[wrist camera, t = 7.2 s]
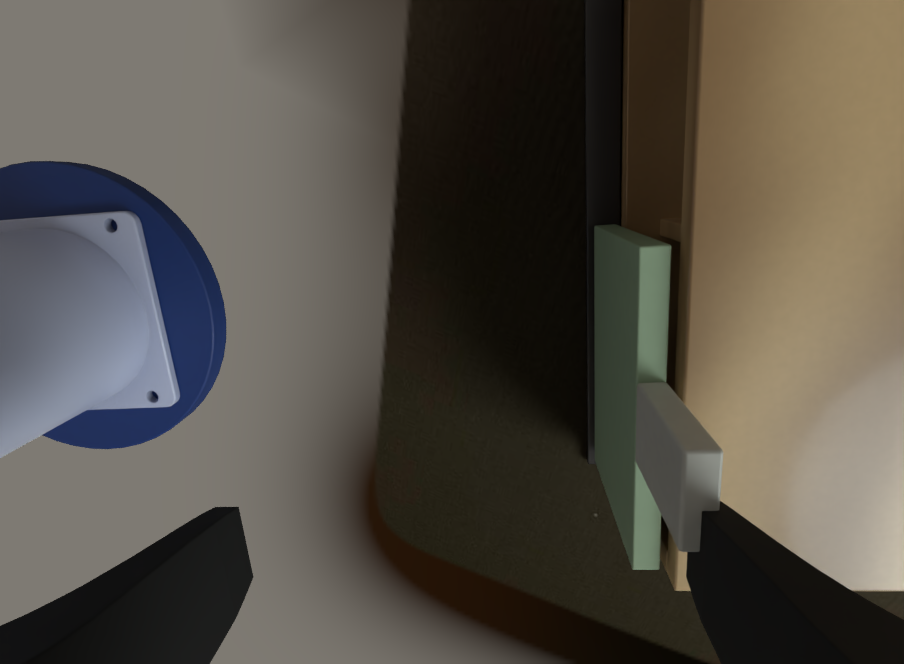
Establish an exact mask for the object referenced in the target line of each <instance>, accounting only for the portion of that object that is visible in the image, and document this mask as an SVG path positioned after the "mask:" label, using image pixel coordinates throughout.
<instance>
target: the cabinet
mask: <svg viewBox="0 0 904 664" xmlns="http://www.w3.org/2000/svg"><path fill="white" fill-rule="evenodd" d="M621 27H622V0H584V38H585V199H586V360H587V462H588V464H596V462H595V320H594V227H595V226H597V225H612V224H616V225H619V216H620V122H621ZM621 227H624V228H627V229H629V230H632V231H635V232H637V233H640V234H643V235H645V236H648V237H651V238H653V239H656V240H659V241H661V242H664V243H667V244H670V245H671V269H670V296H669V323H668V350H667V377H666V383H667V384H668V385H669V386H670V387H671V388H672V390H673V391H674V392H675V393H676V394H677V396H678V397H679V398H680V399H681V400H682V402H683V403H684V404H685V405H686V407H687V408H688V409H689V410H690V411H691V413H692V414H693V415H694V416H695V417H696V419H697V420H698V421H699V422H700V423H701V425H702V426H703V427H704V428H705V429H706V431H707V432H708V433H709V434H710V435H711V437H712V438H713V439H714V440H715V441H716V443H717V444H718V445H719V446H720V447H721V449H722V450H723V465H722V479H721V494H720V501H721V502H723V503H724V504H726V505H727V506H729V507H730V508H732V509H733V510H734V511H736V512H737V513H739V514H740V515H741V516H743V517H744V518H745V519H747V520H748V521H750V522H751V523H752V524H754V525H755V526H756V527H758V528H759V529H761V530H762V531H763V532H765V533H766V534H767V535H769V536H770V537H772V538H773V539H774V540H776V541H777V542H779V543H780V544H782V545H783V546H784V547H786V548H787V549H789V550H790V551H791V552H793V553H794V554H796V555H797V556H799V557H800V558H802V559H803V560H805V561H806V562H808V563H809V564H811V565H812V566H814V567H815V568H817V569H818V570H820V571H821V572H823V573H824V574H826V575H828V576H829V577H831V578H832V579H834V580H836V581H837V582H839V583H840V584H842V585H843V586H845V587H847V588H848V589H850V590H851V591H904V0H623V88H622V176H621ZM660 558H661V560H662V563H663V565H664V567H665V570H666V571H667V574H668V576H669V578H670V581H671V583H672V585H673V588H674V589H675V590H676V591H691V590H690V587H689V584H688V581H687V578H686V570H687V552H682V551H679V550H678V548H677V545H676V543H675V541H674V539H673V537H672V535H671V533H670V531H669V529H668V527H667V525H666V523H665V521H664V519H663V517H662V515H661V541H660Z"/></svg>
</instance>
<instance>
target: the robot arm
mask: <svg viewBox="0 0 904 664" xmlns="http://www.w3.org/2000/svg"><path fill="white" fill-rule="evenodd" d="M112 220H114V221H115V222H116V224H117V230H116V231H115V230H114V229H113V227H112V225H111V222H112ZM152 391H154V392H155V393H157V395H158V399H157V398H155V397H154V396H153V394H152ZM179 398H180V391H179V387H178V383H177V378H176V374H175V369H174V365H173V361H172V356H171V352H170V347H169V343H168V339H167V334H166V330H165V325H164V321H163V317H162V312H161V308H160V303H159V299H158V295H157V290H156V286H155V281H154V277H153V273H152V268H151V264H150V259H149V255H148V251H147V246H146V242H145V237H144V233H143V229H142V224H141V221H140V219H139V217H138V216H137V215H136V214H135V213H133V212H131V211H116V212H103V213H90V214H77V215H64V216H51V217H38V218H25V219H11V220H0V458H1V457H3V456H5V455H7V454H9V453H10V452H12V451H14V450H16V449H17V448H19V447H21V446H23V445H25V444H27V443H28V442H30V441H32V440H34V439H36V438H37V437H39V436H41V435H43V434H45V433H46V432H48V431H50V430H52V429H54V428H55V427H57V426H59V425H61V424H63V423H64V422H66V421H68V420H70V419H72V418H73V417H75V416H77V415H79V414H81V413H82V412H84V411H86V410H100V409H128V408H157V407H170V406H172V405H173V404H175V403H176V402H177V401H178V400H179ZM252 578H253V573H252V569H251V564H250V560H249V555H248V550H247V545H246V541H245V536H244V531H243V526H242V521H241V517H240V512H239V507H215V508H213V509H211V510H209V511H207V512H205V513H203V514H201V515H199V516H198V517H196V518H194V519H193V520H191V521H189V522H188V523H186V524H185V525H183V526H181V527H179V528H178V529H176V530H175V531H173V532H171V533H170V534H168V535H167V536H165V537H163V538H162V539H160V540H158V541H157V542H155V543H154V544H152V545H150V546H149V547H147V548H146V549H144V550H142V551H141V552H139V553H137V554H136V555H135V556H133V557H131V558H129V559H128V560H126V561H124V562H122V563H121V564H119V565H117V566H116V567H114V568H112V569H111V570H109V571H107V572H105V573H103V574H102V575H100V576H98V577H97V578H95V579H93V580H92V581H90V582H88V583H86V584H84V585H83V586H81V587H79V588H77V589H75V590H74V591H72V592H70V593H68V594H66V595H64V596H62V597H60V598H58V599H56V600H54V601H53V602H50V603H48V604H46V605H44V606H42V607H40V608H38V609H36V610H34V611H32V612H30V613H28V614H26V615H24V616H22V617H19V618H17V619H15V620H13V621H10V622H8V623H6V624H4V625H1V626H0V664H210V662H211V660H212V659H213V657H214V655H215V654H216V652H217V650H218V648H219V647H220V645H221V643H222V642H223V640H224V638H225V636H226V635H227V633H228V631H229V629H230V628H231V626H232V624H233V622H234V621H235V619H236V617H237V614H238V612H239V610H240V608H241V605H242V603H243V601H244V599H245V596H246V593H247V591H248V589H249V586H250V584H251V581H252ZM686 578H687V581H688V584H689V587H690V590H691V593H692V596H693V599H694V602H695V605H696V608H697V611H698V613H699V616H700V619H701V622H702V624H703V626H704V628H705V630H706V632H707V635H708V637H709V639H710V641H711V643H712V645H713V647H714V649H715V651H716V653H717V655H718V657H719V660H720V662H721V664H904V620H903V619H901V618H899V617H897V616H895V615H894V614H892V613H890V612H888V611H886V610H885V609H883V608H881V607H879V606H877V605H876V604H874V603H872V602H870V601H868V600H867V599H865V598H863V597H862V596H860V595H858V594H856V593H855V592H853V591H851V590H850V589H848V588H847V587H845V586H843V585H842V584H840V583H839V582H837V581H836V580H834V579H832V578H831V577H829V576H828V575H826V574H824V573H823V572H821V571H820V570H818V569H817V568H815V567H814V566H812V565H811V564H809V563H808V562H806V561H805V560H803V559H802V558H800V557H799V556H797V555H796V554H794V553H793V552H791V551H790V550H789V549H787V548H786V547H784V546H783V545H782V544H780V543H779V542H777V541H776V540H774V539H773V538H772V537H770V536H769V535H767V534H766V533H765V532H763V531H762V530H761V529H759V528H758V527H756V526H755V525H754V524H752V523H751V522H750V521H748V520H747V519H745V518H744V517H743V516H741V515H740V514H739V513H737V512H736V511H734V510H733V509H732V508H730V507H729V506H727V505H726V504H724V503H723V502H721V501H720V508H719V510H718V511H702V519H701V536H700V550H699V552H687V570H686Z"/></svg>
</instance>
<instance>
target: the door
mask: <svg viewBox="0 0 904 664" xmlns="http://www.w3.org/2000/svg"><path fill="white" fill-rule="evenodd" d="M670 269H671V245H670V244H667V243H664V242H661V241H659V240H656V239H653V238H651V237H648V236H645V235H643V234H640V233H637V232H635V231H632V230H629V229H627V228H624V227H621V226H619V225H616V224H612V225H597V226H595V227H594V320H595V462H596V465H597V468H598V471H599V473H600V476H601V479H602V482H603V485H604V488H605V491H606V494H607V497H608V500H609V503H610V505H611V508H612V511H613V514H614V517H615V520H616V523H617V526H618V529H619V532H620V535H621V538H622V540H623V543H624V546H625V549H626V552H627V555H628V558H629V561H630V564H631V567H632V569H634V570H658V569H659V567H660V541H661V515H662V517H663V519H664V521H665V523H666V525H667V527H668V529H669V531H670V533H671V535H672V537H673V539H674V541H675V543H676V545H677V548H678V550H679V551H682V552H699V550H700V536H701V519H702V511H718V510H719V508H720V494H721V479H722V465H723V450H722V449H721V447H720V446H719V445H718V444H717V443H716V441H715V440H714V439H713V438H712V437H711V435H710V434H709V433H708V432H707V431H706V429H705V428H704V427H703V426H702V425H701V423H700V422H699V421H698V420H697V419H696V417H695V416H694V415H693V414H692V413H691V411H690V410H689V409H688V408H687V407H686V405H685V404H684V403H683V402H682V400H681V399H680V398H679V397H678V396H677V394H676V393H675V392H674V391H673V390H672V388H671V387H670V386H669V385H668V384H667V383H666V377H667V350H668V323H669V296H670Z"/></svg>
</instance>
